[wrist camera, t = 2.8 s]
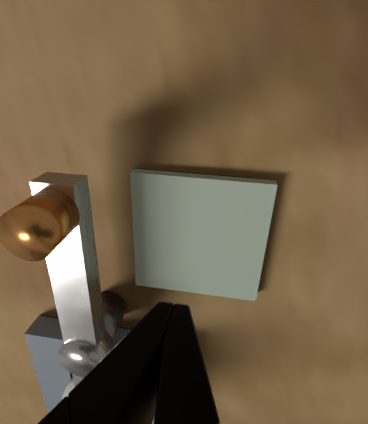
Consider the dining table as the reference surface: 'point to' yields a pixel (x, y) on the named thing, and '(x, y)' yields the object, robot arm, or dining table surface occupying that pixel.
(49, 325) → the socket block
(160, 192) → the pad
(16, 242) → the lever
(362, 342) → the dining table surface
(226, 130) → the dining table surface
